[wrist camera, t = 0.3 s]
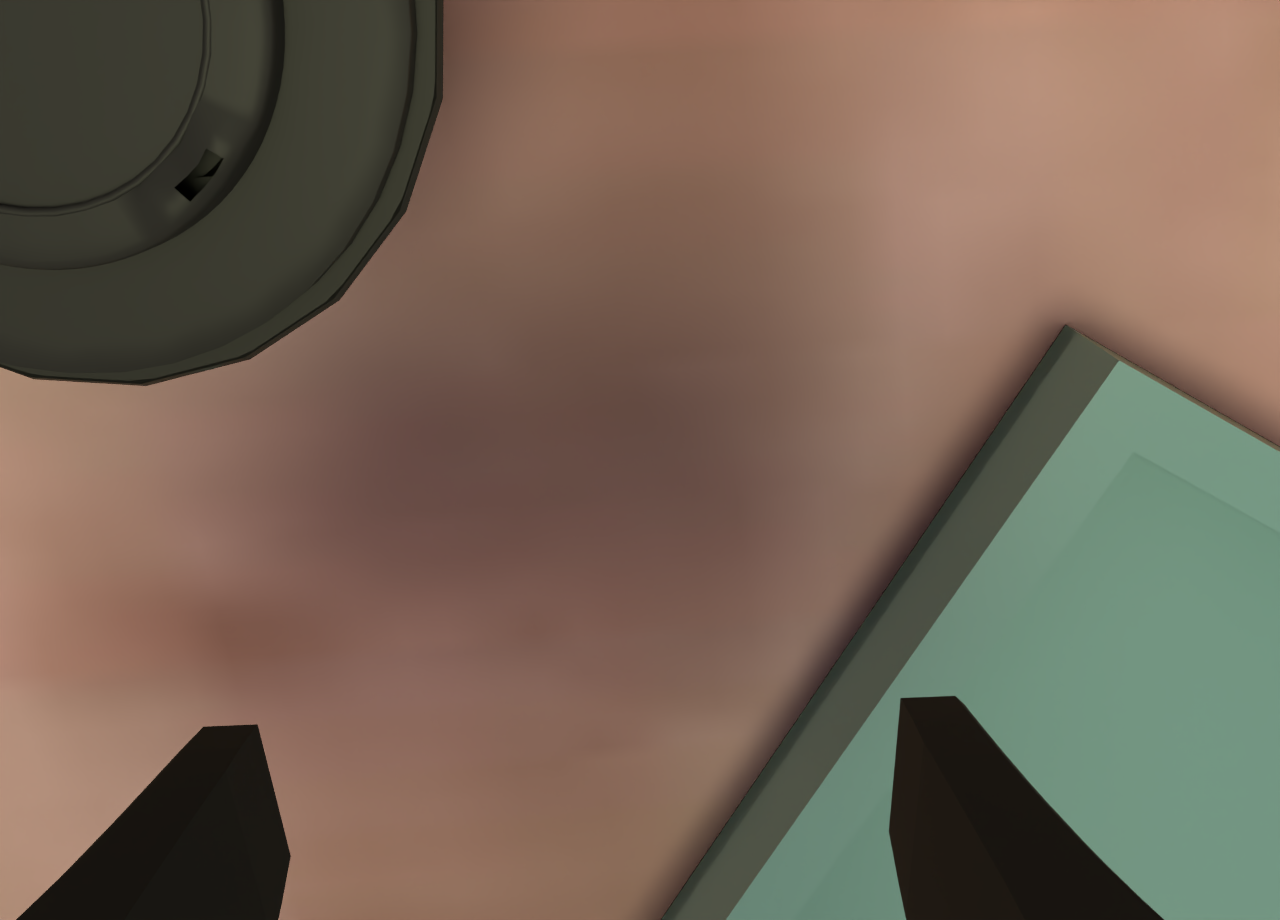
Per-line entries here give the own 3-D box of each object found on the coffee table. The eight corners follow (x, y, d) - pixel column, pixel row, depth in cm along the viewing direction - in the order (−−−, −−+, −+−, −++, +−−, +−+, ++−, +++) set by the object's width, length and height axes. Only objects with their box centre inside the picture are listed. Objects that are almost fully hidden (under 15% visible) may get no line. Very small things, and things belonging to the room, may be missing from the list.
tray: (1227, 1244, 31) (1278, 1349, 28) (616, 985, 28) (614, 1077, 25) (1752, 716, 25) (1872, 789, 23) (1065, 324, 22) (1119, 360, 20)
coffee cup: (479, 295, 22) (364, 488, 13) (39, 199, 21) (-427, 328, 12) (565, -180, 19) (499, -383, 10) (64, -307, 19) (-513, -652, 9)
